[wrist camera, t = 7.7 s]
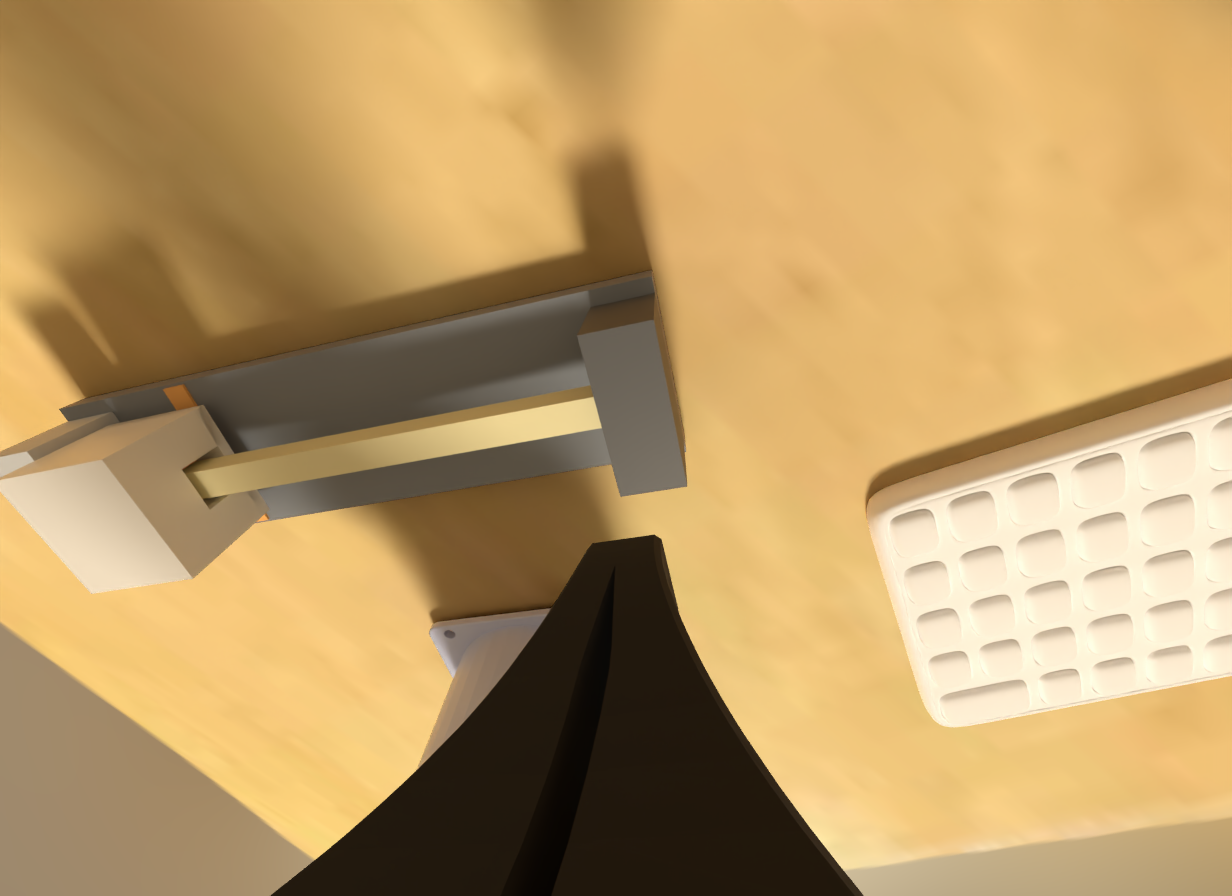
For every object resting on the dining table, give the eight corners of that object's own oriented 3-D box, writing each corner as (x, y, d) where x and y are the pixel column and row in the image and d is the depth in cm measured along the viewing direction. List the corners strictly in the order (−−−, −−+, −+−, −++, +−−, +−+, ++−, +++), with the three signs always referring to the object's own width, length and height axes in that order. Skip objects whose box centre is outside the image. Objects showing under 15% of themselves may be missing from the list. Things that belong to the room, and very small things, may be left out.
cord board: (652, 269, 17) (649, 299, 13) (685, 438, 19) (690, 500, 16) (84, 398, 20) (-35, 448, 17) (177, 524, 23) (91, 590, 20)
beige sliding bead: (203, 404, 18) (101, 459, 15) (269, 509, 20) (193, 578, 17) (108, 424, 19) (-9, 481, 16) (181, 524, 21) (91, 593, 18)
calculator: (852, 486, 20) (869, 515, 19) (1568, 260, 15) (1679, 273, 14) (920, 704, 26) (938, 742, 24) (1467, 591, 21) (1539, 629, 19)
